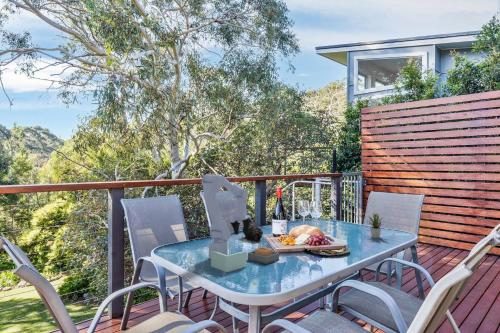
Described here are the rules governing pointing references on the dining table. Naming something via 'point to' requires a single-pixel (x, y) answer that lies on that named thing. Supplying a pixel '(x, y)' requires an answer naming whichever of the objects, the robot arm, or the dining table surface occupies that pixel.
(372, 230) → the house plant
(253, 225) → the pine cone
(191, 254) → the dining table surface
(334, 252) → the food plate
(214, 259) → the l-shaped corner panel
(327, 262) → the dining table surface
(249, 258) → the big crate
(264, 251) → the small crate
